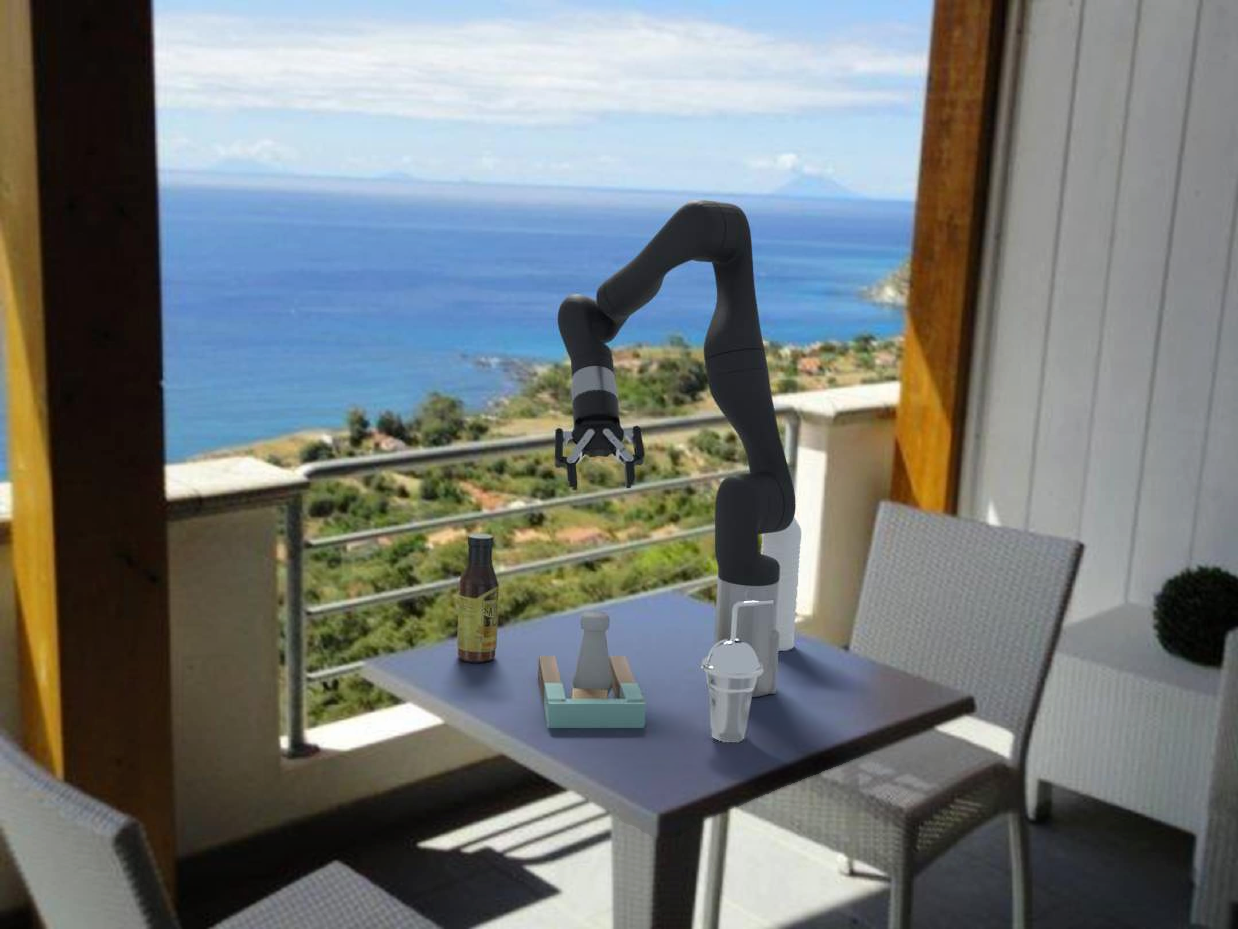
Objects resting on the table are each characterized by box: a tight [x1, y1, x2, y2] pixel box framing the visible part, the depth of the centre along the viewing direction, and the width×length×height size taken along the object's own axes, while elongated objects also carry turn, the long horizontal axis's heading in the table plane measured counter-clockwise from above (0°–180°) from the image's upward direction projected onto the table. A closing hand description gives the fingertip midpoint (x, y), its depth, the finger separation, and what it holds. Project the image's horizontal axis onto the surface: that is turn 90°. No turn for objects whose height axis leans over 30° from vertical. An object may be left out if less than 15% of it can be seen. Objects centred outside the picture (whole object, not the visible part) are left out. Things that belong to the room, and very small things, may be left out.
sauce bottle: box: [456, 533, 500, 664], centre depth 206 cm, size 7×6×20 cm
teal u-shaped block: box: [543, 682, 646, 729], centre depth 184 cm, size 13×8×4 cm, turn 97°
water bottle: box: [760, 516, 802, 652], centre depth 218 cm, size 9×6×25 cm
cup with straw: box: [700, 599, 775, 744], centre depth 177 cm, size 8×9×20 cm
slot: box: [537, 655, 637, 705], centre depth 195 cm, size 13×14×3 cm
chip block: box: [571, 687, 608, 699], centre depth 185 cm, size 5×5×3 cm
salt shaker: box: [572, 610, 613, 697], centre depth 191 cm, size 6×6×13 cm
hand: (601, 487), depth 205 cm, fingers open, 8 cm apart
